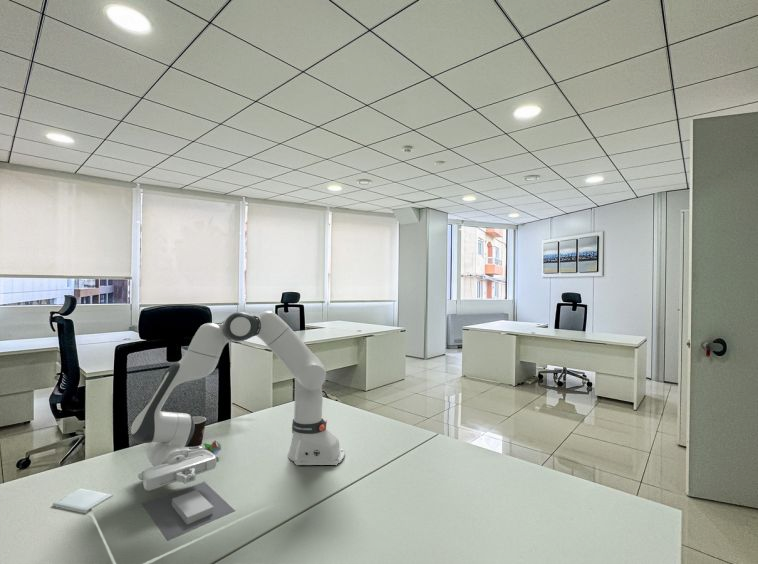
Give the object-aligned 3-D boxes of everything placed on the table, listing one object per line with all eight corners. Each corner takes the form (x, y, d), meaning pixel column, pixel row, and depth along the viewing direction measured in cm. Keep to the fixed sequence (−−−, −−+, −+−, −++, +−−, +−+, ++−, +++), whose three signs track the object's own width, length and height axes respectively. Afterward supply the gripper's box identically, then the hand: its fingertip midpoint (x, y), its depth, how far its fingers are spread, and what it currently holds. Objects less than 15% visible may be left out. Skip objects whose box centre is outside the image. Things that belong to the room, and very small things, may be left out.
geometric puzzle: (206, 461, 130) (217, 439, 135) (191, 458, 133) (202, 435, 137) (217, 466, 136) (227, 444, 140) (203, 463, 138) (213, 441, 143)
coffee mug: (195, 450, 144) (196, 425, 144) (176, 447, 145) (178, 422, 146) (214, 438, 155) (215, 415, 155) (196, 436, 157) (197, 413, 157)
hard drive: (52, 502, 105) (86, 509, 102) (81, 487, 113) (113, 493, 110) (52, 508, 105) (86, 515, 102) (80, 492, 113) (113, 499, 110)
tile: (172, 498, 106) (187, 517, 98) (196, 489, 111) (213, 506, 103) (171, 506, 106) (187, 525, 98) (196, 496, 111) (213, 514, 103)
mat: (141, 505, 107) (142, 503, 107) (204, 483, 120) (204, 481, 120) (167, 543, 92) (167, 540, 92) (235, 512, 105) (235, 510, 105)
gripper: (136, 463, 108) (151, 481, 99) (206, 444, 123) (224, 457, 114) (135, 484, 108) (149, 504, 99) (205, 462, 123) (223, 477, 114)
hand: (190, 479), depth 106 cm, fingers closed
